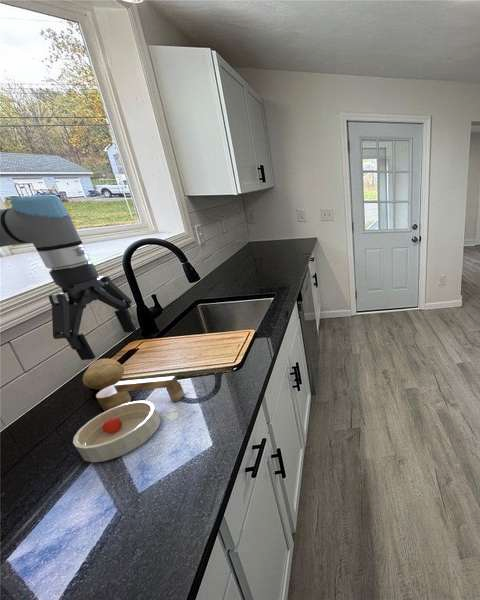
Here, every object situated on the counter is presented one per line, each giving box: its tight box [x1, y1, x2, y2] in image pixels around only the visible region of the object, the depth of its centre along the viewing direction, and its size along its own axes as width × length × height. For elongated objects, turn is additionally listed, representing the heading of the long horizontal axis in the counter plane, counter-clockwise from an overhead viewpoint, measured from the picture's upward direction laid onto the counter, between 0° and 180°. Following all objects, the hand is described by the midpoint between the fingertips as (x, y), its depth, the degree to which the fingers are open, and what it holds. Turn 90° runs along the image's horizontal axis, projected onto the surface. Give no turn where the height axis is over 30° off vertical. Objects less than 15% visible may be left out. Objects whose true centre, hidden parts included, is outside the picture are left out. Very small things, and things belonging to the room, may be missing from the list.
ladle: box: [95, 375, 185, 412], centre depth 91 cm, size 22×6×7 cm, turn 94°
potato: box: [82, 358, 125, 391], centre depth 99 cm, size 10×14×8 cm
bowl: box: [72, 400, 161, 463], centre depth 78 cm, size 16×16×5 cm
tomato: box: [103, 418, 122, 433], centre depth 80 cm, size 4×4×4 cm
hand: (111, 344), depth 81 cm, fingers open, 13 cm apart
